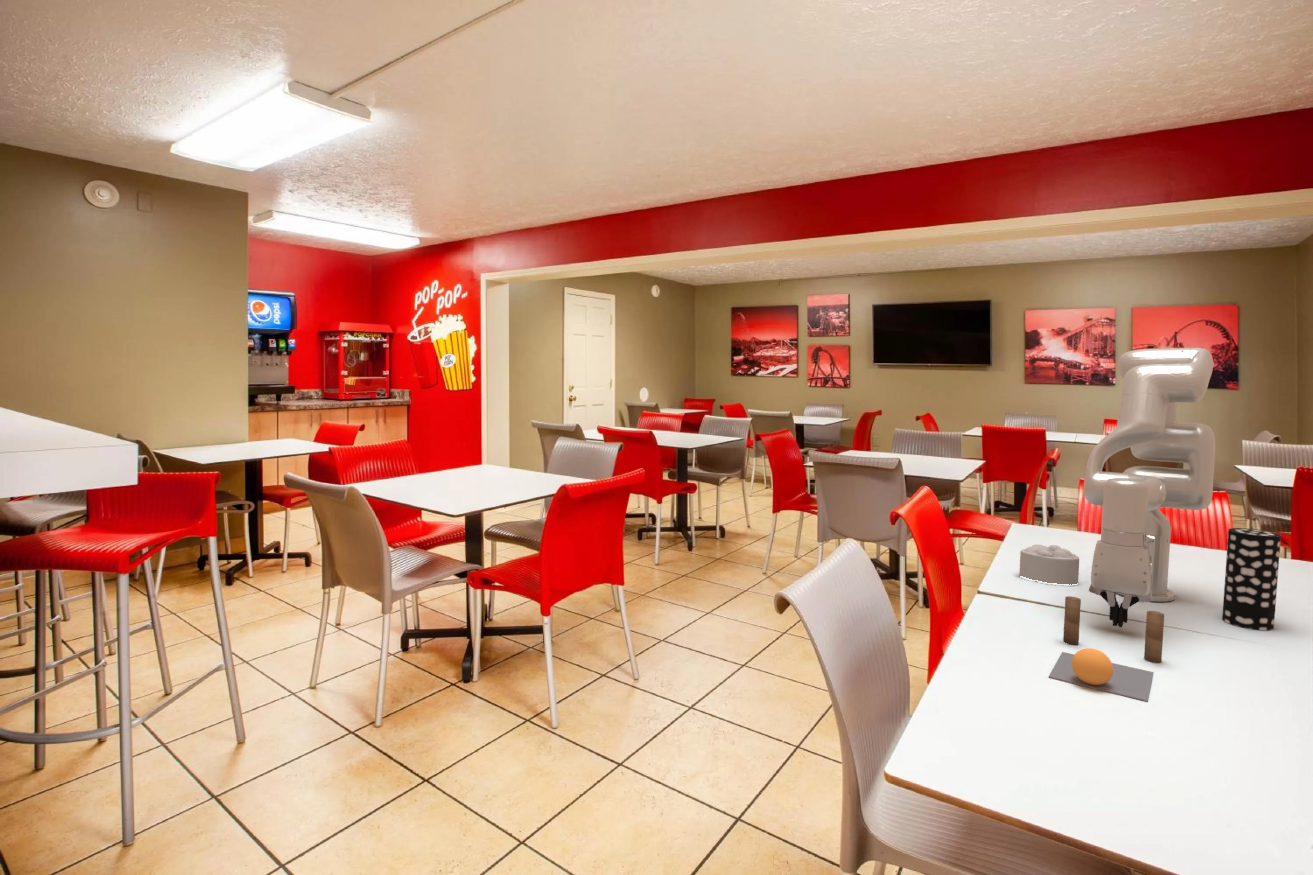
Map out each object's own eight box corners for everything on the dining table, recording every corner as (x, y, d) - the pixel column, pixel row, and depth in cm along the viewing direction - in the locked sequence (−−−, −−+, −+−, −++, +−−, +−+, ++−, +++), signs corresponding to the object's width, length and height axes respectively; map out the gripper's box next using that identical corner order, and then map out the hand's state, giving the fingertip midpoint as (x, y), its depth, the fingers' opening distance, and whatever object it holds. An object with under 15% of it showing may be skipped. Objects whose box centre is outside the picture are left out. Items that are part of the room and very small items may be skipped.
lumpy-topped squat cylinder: (1030, 570, 183) (1032, 540, 182) (1084, 581, 173) (1085, 549, 172) (1015, 578, 176) (1016, 546, 175) (1070, 589, 166) (1072, 555, 165)
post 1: (1064, 638, 133) (1066, 595, 133) (1079, 642, 132) (1081, 598, 131) (1062, 642, 131) (1064, 598, 131) (1077, 646, 130) (1079, 601, 129)
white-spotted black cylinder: (1253, 617, 146) (1259, 528, 144) (1284, 631, 138) (1292, 537, 136) (1212, 615, 147) (1218, 527, 145) (1241, 629, 138) (1248, 536, 137)
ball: (1068, 686, 114) (1074, 662, 118) (1110, 697, 110) (1115, 672, 114) (1068, 660, 112) (1074, 636, 116) (1111, 670, 108) (1116, 646, 112)
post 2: (1144, 655, 125) (1147, 609, 124) (1161, 659, 123) (1164, 612, 123) (1143, 660, 123) (1146, 613, 122) (1161, 664, 121) (1164, 616, 121)
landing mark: (1062, 652, 126) (1062, 651, 126) (1153, 673, 117) (1153, 672, 117) (1048, 677, 116) (1048, 676, 116) (1147, 701, 107) (1147, 700, 107)
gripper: (1169, 540, 134) (1164, 628, 135) (1082, 529, 143) (1078, 612, 145) (1167, 547, 128) (1162, 638, 129) (1077, 536, 138) (1073, 621, 139)
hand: (1118, 624), depth 137 cm, fingers closed
